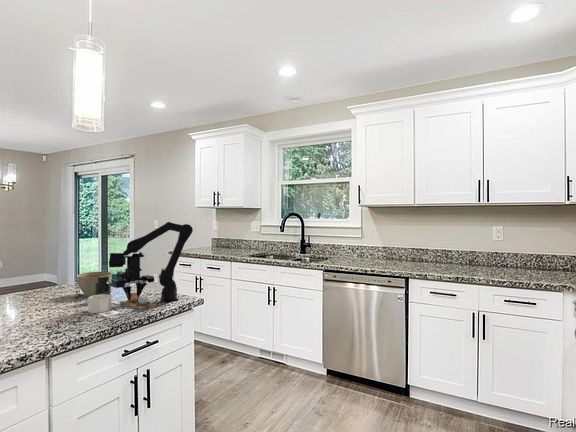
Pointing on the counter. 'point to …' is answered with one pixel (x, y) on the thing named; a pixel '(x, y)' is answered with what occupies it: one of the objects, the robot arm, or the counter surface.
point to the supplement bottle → (103, 286)
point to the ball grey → (143, 300)
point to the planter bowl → (90, 281)
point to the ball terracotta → (133, 297)
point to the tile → (109, 313)
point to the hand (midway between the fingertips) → (133, 299)
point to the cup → (99, 303)
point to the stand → (138, 304)
